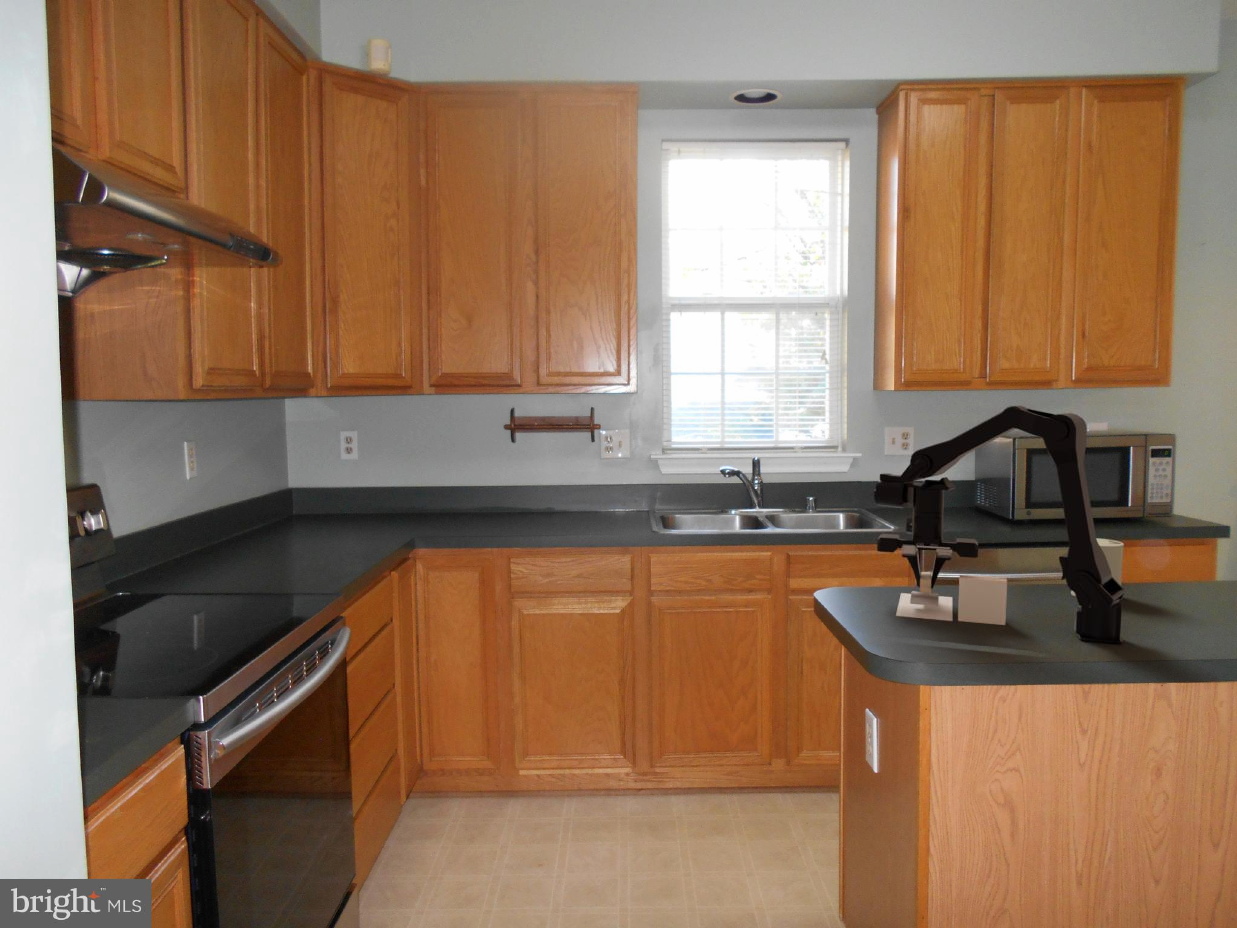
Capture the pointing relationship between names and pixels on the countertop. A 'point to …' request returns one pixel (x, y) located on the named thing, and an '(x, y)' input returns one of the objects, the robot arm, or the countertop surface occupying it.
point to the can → (1112, 557)
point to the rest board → (925, 608)
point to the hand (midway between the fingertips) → (925, 587)
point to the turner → (925, 592)
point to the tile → (982, 599)
